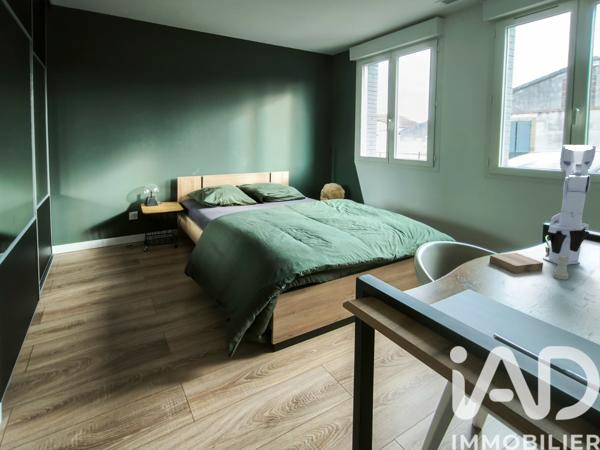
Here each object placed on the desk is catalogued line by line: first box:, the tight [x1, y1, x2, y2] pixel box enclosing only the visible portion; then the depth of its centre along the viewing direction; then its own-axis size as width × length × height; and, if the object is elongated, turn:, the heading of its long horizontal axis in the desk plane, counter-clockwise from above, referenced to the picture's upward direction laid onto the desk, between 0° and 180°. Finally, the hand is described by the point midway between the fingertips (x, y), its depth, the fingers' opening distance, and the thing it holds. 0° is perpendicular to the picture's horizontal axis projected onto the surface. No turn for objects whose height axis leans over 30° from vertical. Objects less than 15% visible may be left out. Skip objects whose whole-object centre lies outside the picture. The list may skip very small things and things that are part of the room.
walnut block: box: [489, 252, 544, 275], centre depth 135 cm, size 12×12×3 cm
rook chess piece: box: [552, 254, 570, 281], centre depth 124 cm, size 4×4×8 cm
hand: (564, 251), depth 123 cm, fingers open, 7 cm apart
